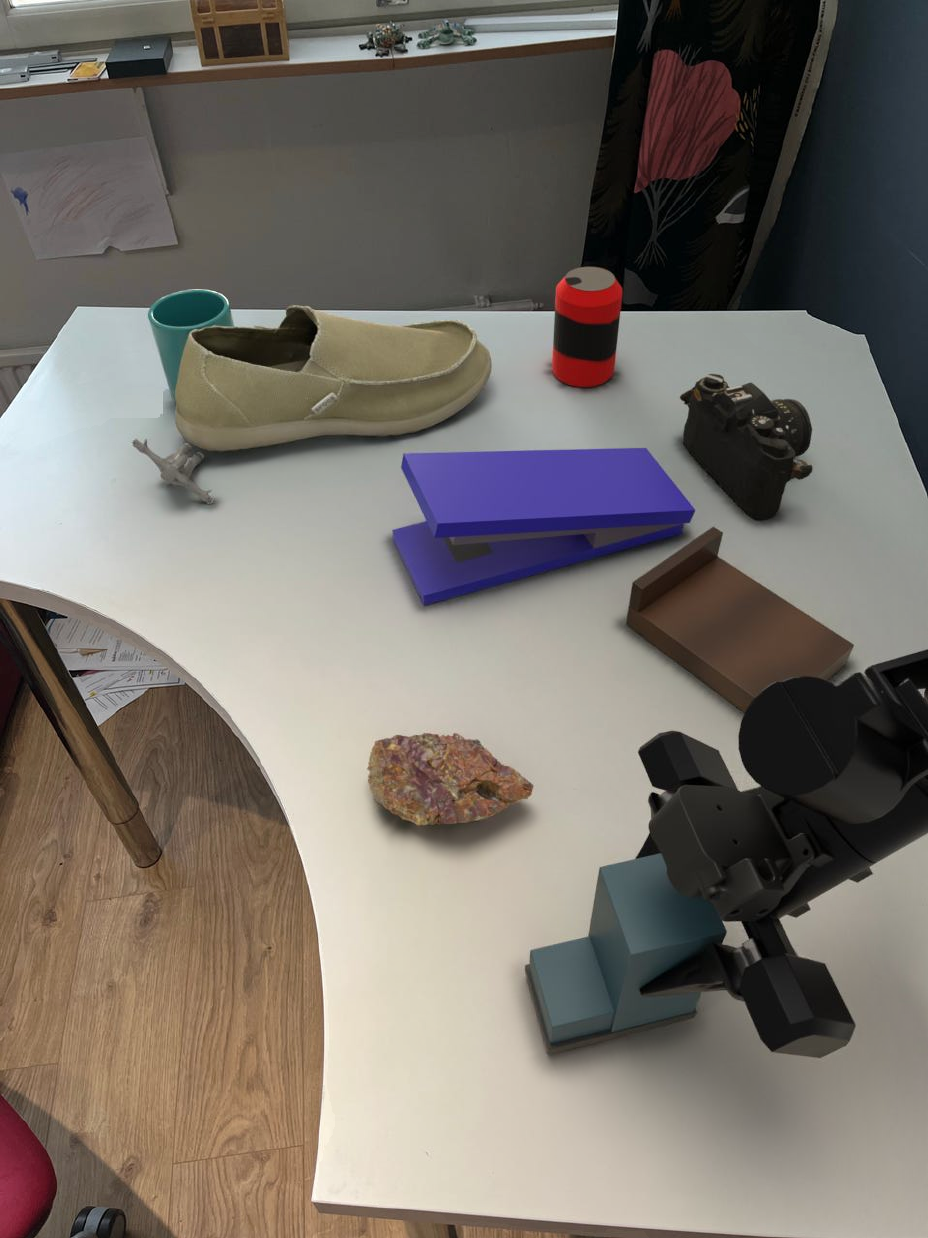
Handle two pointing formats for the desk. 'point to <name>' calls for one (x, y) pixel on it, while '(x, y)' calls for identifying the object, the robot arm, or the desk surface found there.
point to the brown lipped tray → (729, 624)
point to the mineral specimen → (441, 779)
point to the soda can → (586, 326)
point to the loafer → (323, 379)
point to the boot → (621, 958)
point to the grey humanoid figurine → (177, 467)
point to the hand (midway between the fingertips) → (627, 947)
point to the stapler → (529, 513)
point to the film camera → (747, 441)
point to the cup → (184, 324)
